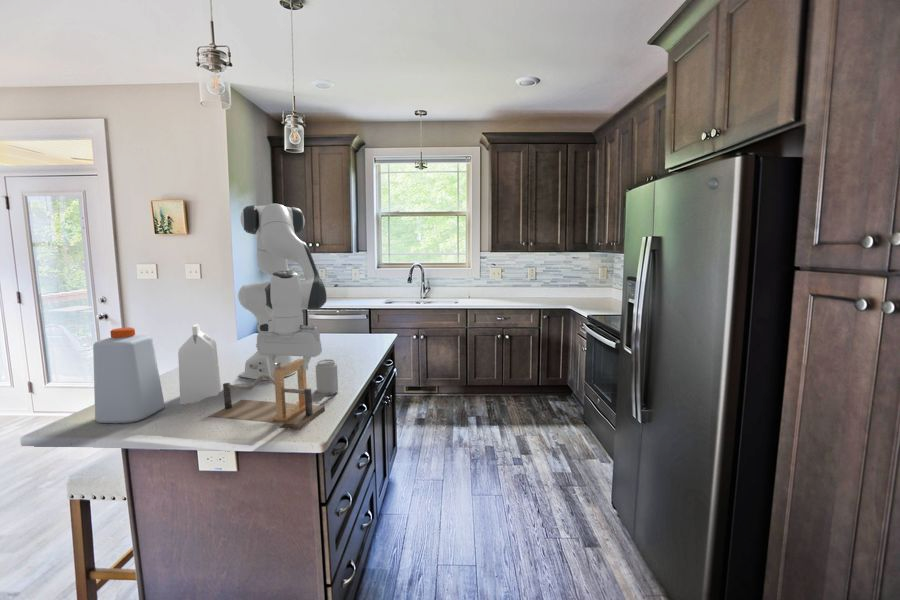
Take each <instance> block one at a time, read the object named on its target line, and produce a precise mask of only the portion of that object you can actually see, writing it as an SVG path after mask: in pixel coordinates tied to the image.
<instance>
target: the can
mask: <svg viewBox="0 0 900 600" xmlns="http://www.w3.org/2000/svg"><path fill="white" fill-rule="evenodd" d="M338 377H339V376H338V364H337V362H336V360H335V359H330V358H327V359H320V360H318V361H317V362H316V365H315V380H316V381H315V382H316V392H318V393H322V394H325V393H326V394H327V393H328V394H327V395H326V397H327V396H328V397H330V396H333V395H336V393H337V392H338V391H339V381H338V380H339V378H338ZM329 395H330V396H329Z"/></svg>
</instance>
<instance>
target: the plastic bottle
mask: <svg viewBox="0 0 900 600" xmlns="http://www.w3.org/2000/svg"><path fill="white" fill-rule="evenodd" d="M109 333H110V336H109V337H108V338H103V339H99V340H97V341H95V342H94V343H93V346H92V348H93V350H92V352H93V384H94V385H93V388H94V390H93V391H94V419H95V421H96V422H97V423H99V424H131V423H135V422H139V421H142V419H143V420H145V419H146V418H149V417H150V416H152V415H154V414H155V413H158V412H159V411H161V410H163V408H165V400H164V399H165V398H164V394H163V389H162V384H161V383H162V382H161V378H160V373H159V367H158V363H157V357H156V351H155V345H154V340H153V338H152V336H151V335H149V334H136V330H135V328H134V327H118V328H112V329H111V330H110V331H109Z"/></svg>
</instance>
